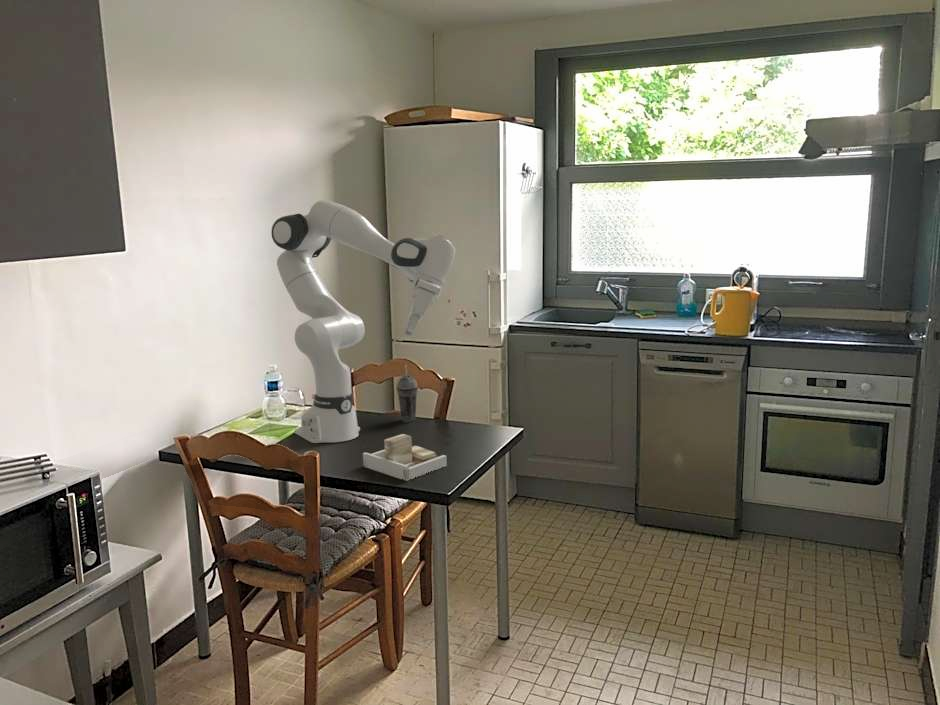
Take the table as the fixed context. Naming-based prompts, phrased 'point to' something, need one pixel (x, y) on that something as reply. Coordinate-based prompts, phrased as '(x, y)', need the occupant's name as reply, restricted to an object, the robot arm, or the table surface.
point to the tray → (401, 465)
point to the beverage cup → (407, 397)
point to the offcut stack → (421, 455)
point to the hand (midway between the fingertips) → (408, 333)
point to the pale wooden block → (399, 449)
